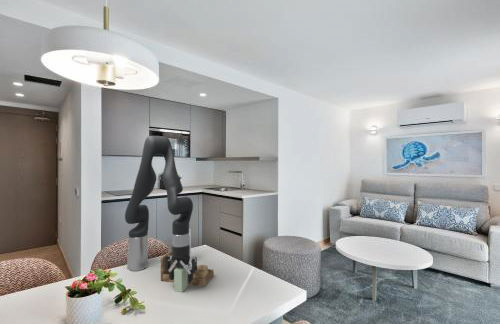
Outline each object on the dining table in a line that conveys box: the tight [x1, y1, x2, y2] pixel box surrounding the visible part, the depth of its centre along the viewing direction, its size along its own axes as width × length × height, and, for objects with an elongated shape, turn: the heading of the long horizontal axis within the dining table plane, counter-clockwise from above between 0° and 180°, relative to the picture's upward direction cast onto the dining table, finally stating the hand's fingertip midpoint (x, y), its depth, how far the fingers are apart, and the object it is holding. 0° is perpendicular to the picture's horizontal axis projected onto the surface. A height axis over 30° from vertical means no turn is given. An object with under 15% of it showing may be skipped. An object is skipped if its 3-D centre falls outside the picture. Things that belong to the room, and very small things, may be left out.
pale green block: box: [173, 267, 188, 293], centre depth 108 cm, size 4×5×10 cm
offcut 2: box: [194, 271, 209, 279], centre depth 116 cm, size 5×6×3 cm
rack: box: [160, 249, 215, 287], centre depth 118 cm, size 22×11×12 cm, turn 76°
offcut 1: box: [195, 264, 209, 276], centre depth 116 cm, size 4×5×3 cm
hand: (181, 280), depth 108 cm, fingers open, 8 cm apart
